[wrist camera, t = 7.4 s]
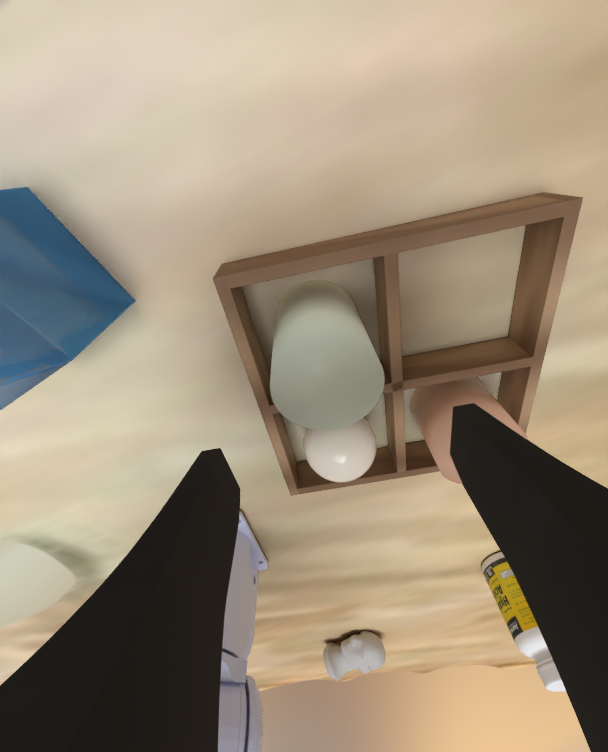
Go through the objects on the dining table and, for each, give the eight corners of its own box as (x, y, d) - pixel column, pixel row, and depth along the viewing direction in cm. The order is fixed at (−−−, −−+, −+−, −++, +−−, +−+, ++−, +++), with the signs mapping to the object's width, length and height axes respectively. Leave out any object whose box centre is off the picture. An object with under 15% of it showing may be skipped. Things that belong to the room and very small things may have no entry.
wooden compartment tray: (500, 433, 24) (519, 458, 22) (290, 468, 25) (290, 495, 23) (544, 192, 15) (582, 197, 13) (221, 264, 17) (212, 278, 15)
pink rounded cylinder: (478, 419, 23) (520, 476, 19) (410, 431, 24) (437, 489, 20) (485, 363, 21) (535, 415, 17) (409, 377, 21) (439, 431, 17)
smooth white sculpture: (376, 616, 44) (383, 643, 45) (319, 626, 45) (327, 652, 46) (383, 650, 40) (391, 679, 41) (320, 661, 41) (329, 689, 42)
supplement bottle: (476, 555, 34) (536, 681, 26) (531, 541, 33) (612, 668, 25) (482, 577, 37) (539, 698, 28) (533, 565, 36) (607, 687, 27)
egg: (371, 437, 24) (386, 491, 20) (308, 448, 24) (313, 503, 20) (365, 387, 21) (382, 438, 17) (295, 400, 22) (297, 452, 18)
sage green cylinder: (358, 349, 20) (385, 421, 14) (283, 361, 20) (281, 436, 15) (353, 273, 17) (383, 326, 12) (267, 288, 17) (257, 346, 12)
